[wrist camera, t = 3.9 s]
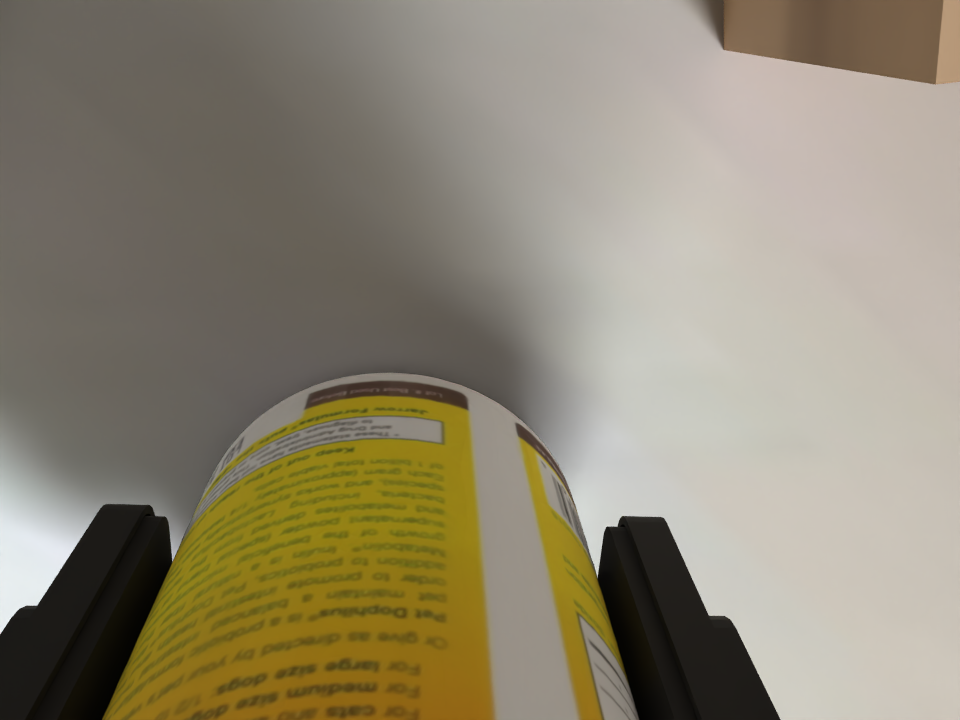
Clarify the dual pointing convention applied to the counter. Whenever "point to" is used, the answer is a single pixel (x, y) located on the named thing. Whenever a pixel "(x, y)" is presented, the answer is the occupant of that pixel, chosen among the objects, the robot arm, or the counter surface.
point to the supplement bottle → (380, 572)
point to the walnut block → (852, 35)
